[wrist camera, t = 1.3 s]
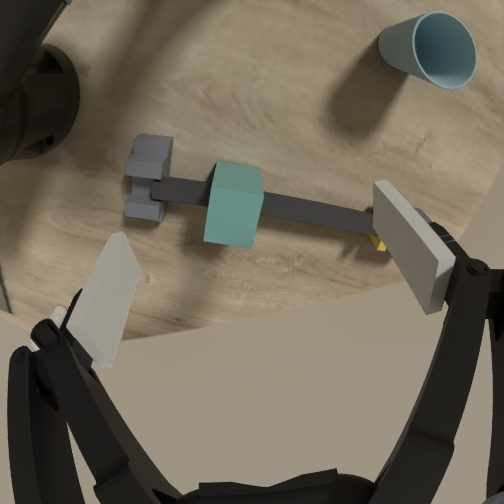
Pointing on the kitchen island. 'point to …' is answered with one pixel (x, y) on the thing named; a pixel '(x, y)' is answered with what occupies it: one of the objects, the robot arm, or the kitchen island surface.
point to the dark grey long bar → (274, 207)
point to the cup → (431, 49)
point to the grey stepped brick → (148, 176)
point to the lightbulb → (57, 319)
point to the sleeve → (234, 205)
